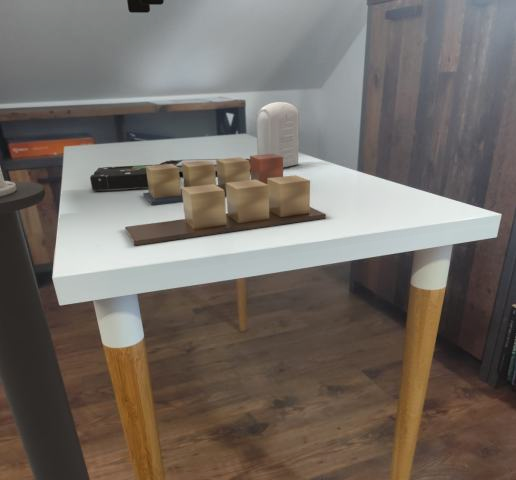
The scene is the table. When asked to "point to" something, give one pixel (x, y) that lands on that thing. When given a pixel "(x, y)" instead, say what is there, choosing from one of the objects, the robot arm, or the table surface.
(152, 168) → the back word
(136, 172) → the disk drive
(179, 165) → the gaming console
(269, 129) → the white rounded slab
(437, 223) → the table surface
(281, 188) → the front word
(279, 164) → the reddish wooden cube
